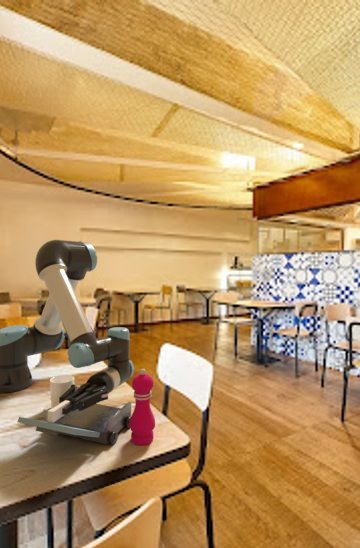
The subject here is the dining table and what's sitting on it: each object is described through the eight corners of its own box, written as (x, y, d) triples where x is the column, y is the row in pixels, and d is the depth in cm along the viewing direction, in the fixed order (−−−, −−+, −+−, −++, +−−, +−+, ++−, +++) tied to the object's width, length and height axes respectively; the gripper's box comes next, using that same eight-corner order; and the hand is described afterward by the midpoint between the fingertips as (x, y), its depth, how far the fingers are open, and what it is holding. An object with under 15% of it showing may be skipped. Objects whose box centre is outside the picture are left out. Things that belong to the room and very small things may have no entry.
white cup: (66, 414, 101) (66, 384, 101) (44, 411, 103) (44, 381, 102) (78, 403, 109) (78, 375, 108) (58, 401, 110) (58, 373, 110)
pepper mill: (131, 448, 83) (131, 374, 82) (127, 434, 89) (128, 365, 89) (157, 444, 85) (158, 372, 84) (152, 430, 92) (153, 363, 91)
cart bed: (42, 432, 90) (42, 410, 89) (74, 411, 103) (74, 392, 103) (110, 448, 82) (110, 424, 82) (134, 423, 96) (134, 402, 95)
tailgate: (45, 430, 87) (15, 426, 77) (48, 421, 88) (19, 416, 78) (97, 441, 81) (72, 439, 72) (100, 432, 82) (75, 429, 73)
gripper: (121, 397, 97) (72, 436, 74) (85, 391, 101) (29, 427, 78) (121, 373, 96) (72, 405, 74) (85, 368, 101) (29, 397, 78)
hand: (50, 416), depth 76 cm, fingers closed
